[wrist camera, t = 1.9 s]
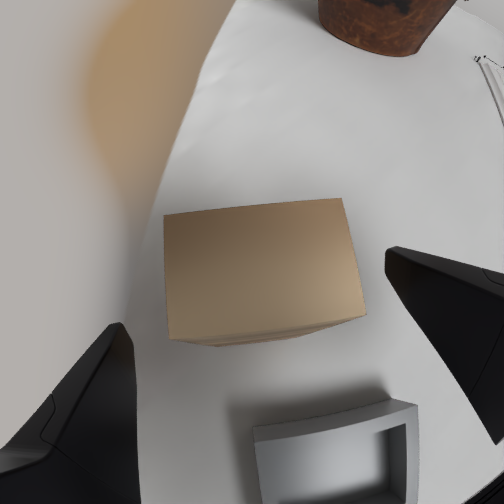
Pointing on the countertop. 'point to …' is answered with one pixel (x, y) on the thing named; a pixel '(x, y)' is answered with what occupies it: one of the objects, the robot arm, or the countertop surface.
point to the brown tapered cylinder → (383, 23)
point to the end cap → (342, 457)
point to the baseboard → (495, 85)
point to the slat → (259, 272)
